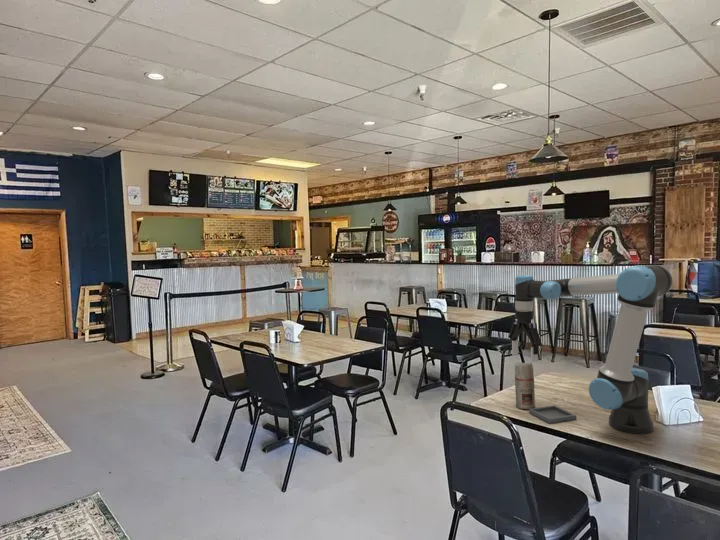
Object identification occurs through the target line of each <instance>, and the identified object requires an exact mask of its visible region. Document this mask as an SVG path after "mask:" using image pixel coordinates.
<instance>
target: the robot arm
mask: <svg viewBox="0 0 720 540" xmlns="http://www.w3.org/2000/svg"><path fill="white" fill-rule="evenodd" d="M672 286H673V276H672V274H671V273H670V271H669V270H668V269H667V268H666V267H663V266H661V265H657V264H647V265H633V266H630V267H627V268H625V269H623V270H622V271H621V272H620V273H613V274H604V275H603V274H602V275H593V276H592V275H591V276H581V277H572V278H561V279H560V278H559V279H550V280H549V279H548V280H535V279H534V276H533V275H531V274H529V275H527V274H524V275H523V274H519V275H517V276H515V280H514V292H515V293H514V294H515V300H514V302H515V303H514V308H515V312H514V315H515V316H514V317H515V319H512V324H511V327H510V331H509V333H508V337H507V338H508V339H510V340H511V355H512V356H518V355H519V337H520V335H521V333H522V332H523V333H525V334H527V337H528V340H529V341H530V344H531V345H530V363H535V362H538V355H539V347H542V346H543V345H542V341H541V338H540V335H539V331H538V326H537V325H538V324H537V323H536V322H532V320H534V298H535V299H544V300H549V301H550V300H557V299H558V298H561V297H574V296H576V297H577V296H592V295H609V294H617V299H616V300H617V301H618V302H619V304H620V307H619V311H618V314H617V318H616V322H615V326H614V330H613V334H612V336H611V337H612V338H611V341H610V344H609V349H608V353H607V355H606V360H605V363H604V364H603V365H601V366H599V368H598V372H597V375H596V376H597V377H596V378H594V379H592V380H591V381H590V383H589V385H588V393H589V397H590V398H591V399H592V402H594V403H595V405H597V406H598V407H599V408H601V409H604V410H607V411H610V415H608V425H609V426H610V427H611V428H613V429H615V430H618V431H621V432H625V433H630V434H637V435H638V434H641V435H642V434H644V435H645V434H651V433H652V432H653V431H654V422H653V420H652V418H651V414H650V411H649V380H650V379H649V373H648V372H647V371H646V370H644V369H641V368H638V367H637V368H636V367H633V366H634V362H635V359H636V355H637V351H638V349H639V345H640V341H641V338H642V334H643V331H644V327H645V323H646V320H647V316H648V313H649V311H652V310H653V309H655V306H656V304H657V299H658V297H661V296H663V295H666V294H667V293H668V292H669V291H670V290H671V289H672Z"/></svg>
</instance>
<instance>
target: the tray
mask: <svg viewBox="0 0 720 540" xmlns="http://www.w3.org/2000/svg"><path fill="white" fill-rule="evenodd" d="M528 414H529V415H532V416H533V417H535V418H537V419H539V420H540V421H543V422H545V423H546V424H548V425H555V424H559V423H560V424H561V423H566V422H573V421H577V414H574V413H572V412H570V411H567V410H565V409H564V408H562V407H559V406H557V405H548V406H547V405H546V406H540V407H535V408H532V409H528Z"/></svg>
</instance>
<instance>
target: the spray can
mask: <svg viewBox="0 0 720 540" xmlns="http://www.w3.org/2000/svg"><path fill="white" fill-rule="evenodd" d="M534 376H535V375H534V365H533V362H516V363H514V387H515V402H516V408H517V409H521V410H529V409H532V408H536V404H535V403H536V401H535V400H536V397H535V377H534Z"/></svg>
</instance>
